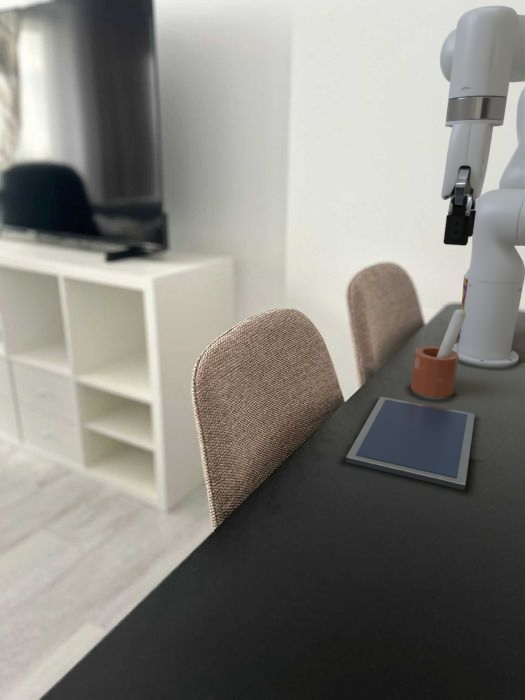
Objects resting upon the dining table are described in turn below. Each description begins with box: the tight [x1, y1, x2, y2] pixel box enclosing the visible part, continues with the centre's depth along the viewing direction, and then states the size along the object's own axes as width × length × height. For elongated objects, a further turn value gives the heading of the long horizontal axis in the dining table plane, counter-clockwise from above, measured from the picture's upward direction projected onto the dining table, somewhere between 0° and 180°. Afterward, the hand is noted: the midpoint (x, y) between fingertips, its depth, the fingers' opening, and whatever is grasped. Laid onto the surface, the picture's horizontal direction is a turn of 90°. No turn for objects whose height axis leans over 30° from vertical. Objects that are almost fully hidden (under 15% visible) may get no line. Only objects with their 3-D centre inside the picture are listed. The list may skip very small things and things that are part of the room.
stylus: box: [437, 308, 466, 357], centre depth 81 cm, size 2×2×14 cm
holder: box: [410, 345, 459, 398], centre depth 83 cm, size 7×7×7 cm
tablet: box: [345, 396, 476, 491], centre depth 70 cm, size 20×14×1 cm
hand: (458, 240), depth 76 cm, fingers open, 9 cm apart
